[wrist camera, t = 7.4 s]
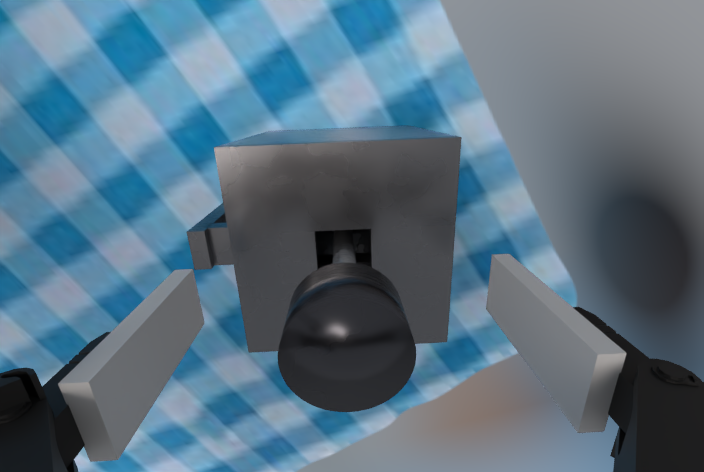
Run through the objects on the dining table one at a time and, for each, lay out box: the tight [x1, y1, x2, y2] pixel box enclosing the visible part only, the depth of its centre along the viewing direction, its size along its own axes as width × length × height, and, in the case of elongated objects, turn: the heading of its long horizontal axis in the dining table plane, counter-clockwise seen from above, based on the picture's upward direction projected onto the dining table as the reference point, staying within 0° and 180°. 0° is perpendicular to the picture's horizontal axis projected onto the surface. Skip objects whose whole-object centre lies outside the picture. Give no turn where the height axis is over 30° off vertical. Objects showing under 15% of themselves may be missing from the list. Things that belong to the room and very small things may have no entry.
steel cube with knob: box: [187, 126, 461, 352], centre depth 25 cm, size 15×12×14 cm
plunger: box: [278, 229, 416, 412], centre depth 20 cm, size 9×9×19 cm
